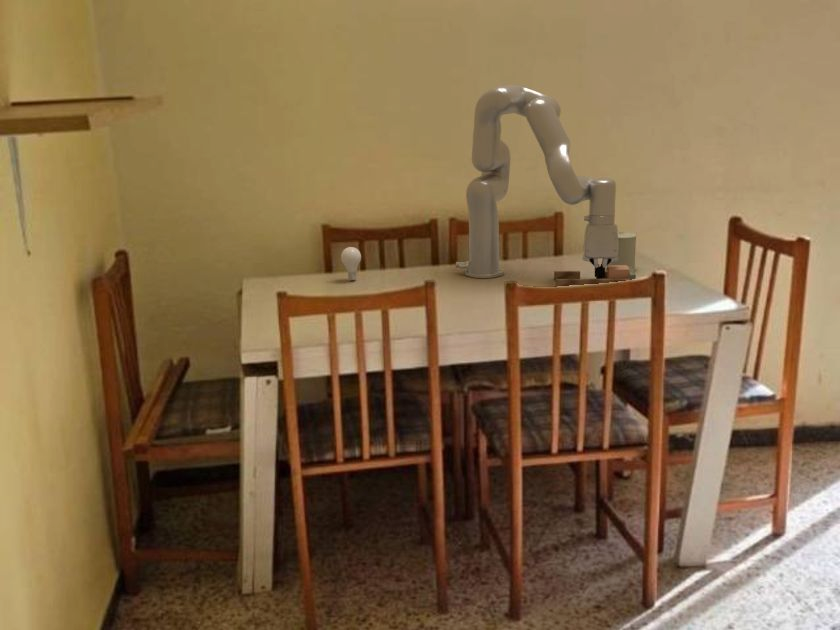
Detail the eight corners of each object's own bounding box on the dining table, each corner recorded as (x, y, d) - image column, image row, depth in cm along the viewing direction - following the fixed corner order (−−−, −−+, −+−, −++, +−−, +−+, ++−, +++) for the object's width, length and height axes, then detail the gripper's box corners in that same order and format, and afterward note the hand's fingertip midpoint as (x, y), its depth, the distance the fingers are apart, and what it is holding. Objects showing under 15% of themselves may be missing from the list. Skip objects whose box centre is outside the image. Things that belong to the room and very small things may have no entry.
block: (608, 285, 270) (609, 269, 269) (606, 281, 276) (607, 265, 275) (628, 285, 270) (629, 269, 268) (626, 280, 275) (626, 265, 274)
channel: (555, 288, 269) (555, 275, 268) (553, 278, 280) (554, 266, 279) (635, 287, 267) (635, 274, 265) (630, 278, 278) (630, 265, 277)
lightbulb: (358, 283, 282) (357, 249, 279) (339, 282, 284) (337, 248, 281) (364, 278, 288) (363, 245, 285) (345, 278, 290) (344, 244, 287)
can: (633, 266, 294) (634, 230, 290) (637, 273, 285) (638, 235, 281) (604, 266, 295) (605, 230, 291) (607, 273, 286) (608, 236, 282)
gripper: (577, 222, 265) (575, 282, 270) (628, 222, 264) (625, 282, 269) (575, 217, 272) (574, 276, 277) (625, 217, 271) (623, 276, 276)
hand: (599, 279), depth 273 cm, fingers closed
